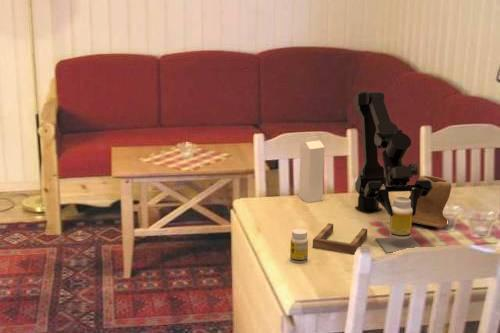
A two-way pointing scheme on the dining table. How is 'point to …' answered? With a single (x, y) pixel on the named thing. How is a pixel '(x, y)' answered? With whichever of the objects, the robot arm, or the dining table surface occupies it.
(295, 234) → the supplement bottle
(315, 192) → the milk
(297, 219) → the dining table surface
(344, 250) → the open wooden u-frame
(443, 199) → the brown boot
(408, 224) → the pill bottle
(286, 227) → the dining table surface
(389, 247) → the coaster
